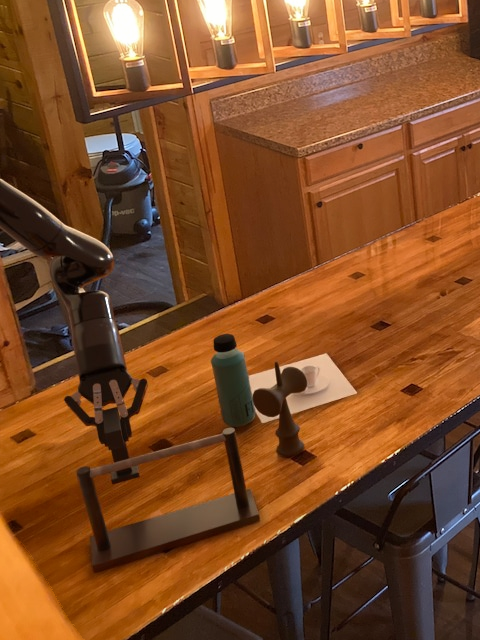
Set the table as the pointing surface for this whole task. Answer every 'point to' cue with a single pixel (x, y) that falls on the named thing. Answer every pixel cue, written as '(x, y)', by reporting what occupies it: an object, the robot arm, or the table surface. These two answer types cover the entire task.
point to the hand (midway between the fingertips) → (117, 442)
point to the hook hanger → (117, 445)
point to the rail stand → (170, 526)
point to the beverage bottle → (232, 382)
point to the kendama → (282, 407)
